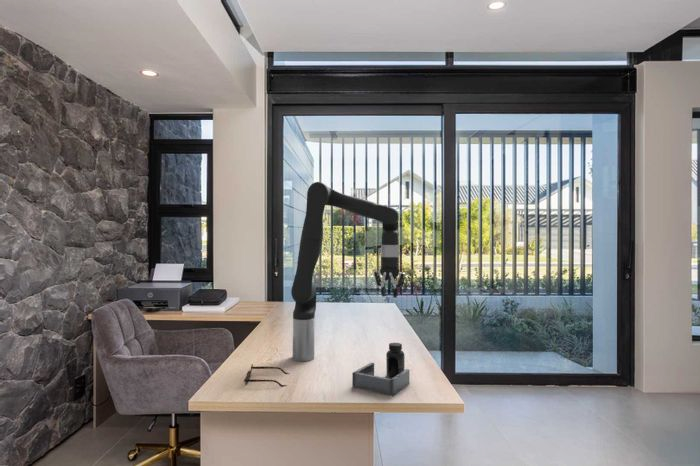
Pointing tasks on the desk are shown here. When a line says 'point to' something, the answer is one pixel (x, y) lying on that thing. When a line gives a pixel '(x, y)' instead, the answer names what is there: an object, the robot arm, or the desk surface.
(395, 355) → the supplement bottle
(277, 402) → the desk surface
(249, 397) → the desk surface
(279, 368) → the eyeglasses
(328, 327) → the desk surface
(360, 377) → the bracket
